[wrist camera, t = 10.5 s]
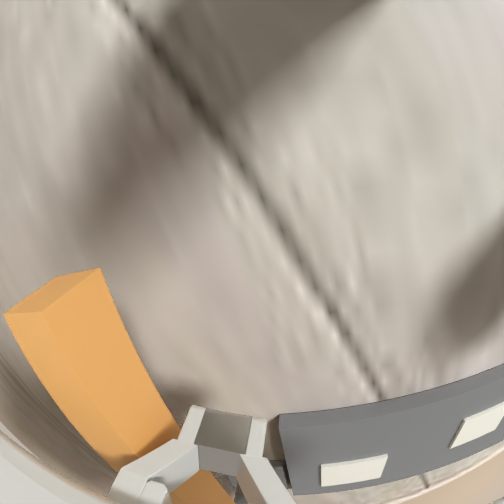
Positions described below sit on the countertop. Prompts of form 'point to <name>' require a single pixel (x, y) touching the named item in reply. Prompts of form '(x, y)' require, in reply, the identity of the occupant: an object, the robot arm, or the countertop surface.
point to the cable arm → (100, 375)
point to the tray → (393, 435)
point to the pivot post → (278, 468)
